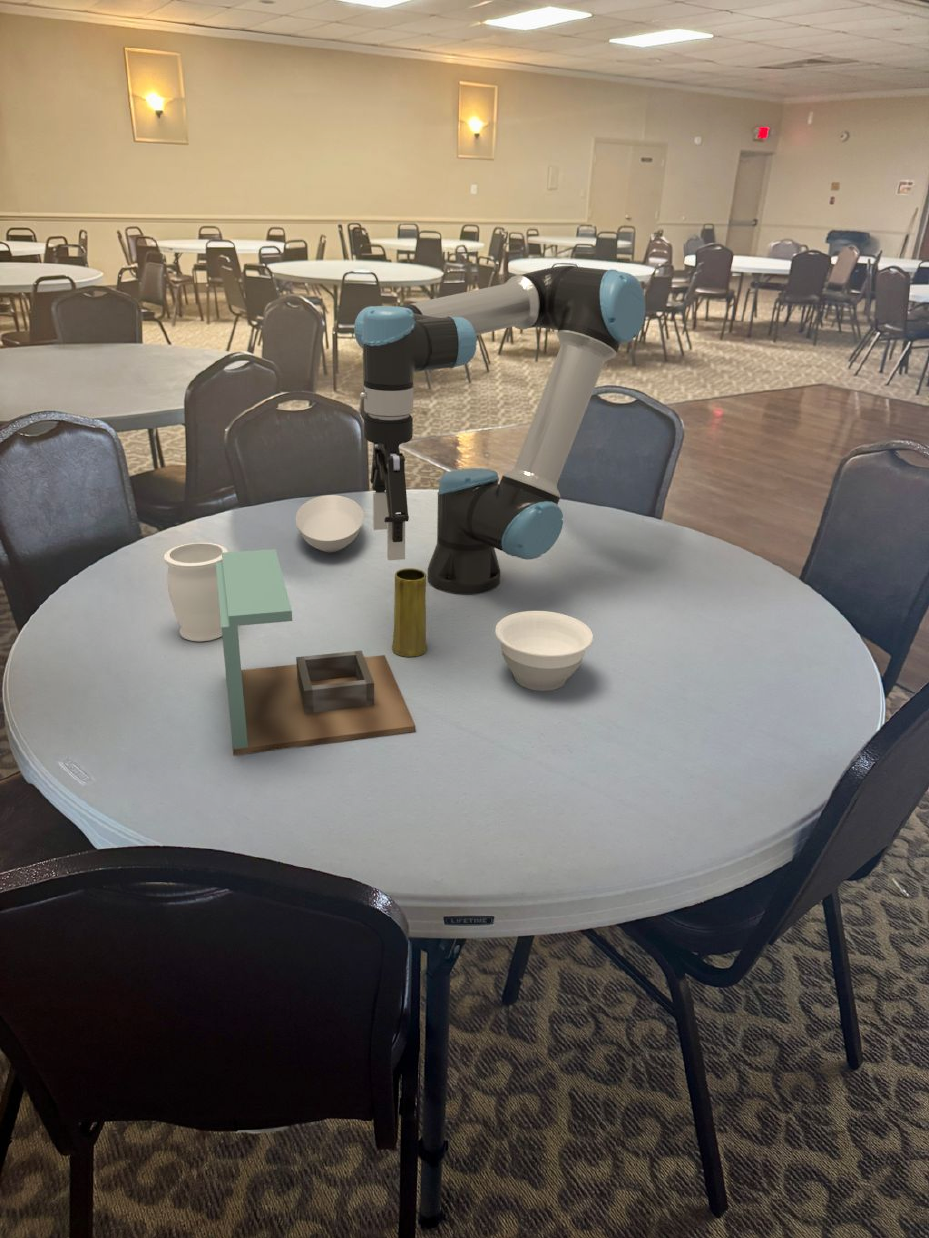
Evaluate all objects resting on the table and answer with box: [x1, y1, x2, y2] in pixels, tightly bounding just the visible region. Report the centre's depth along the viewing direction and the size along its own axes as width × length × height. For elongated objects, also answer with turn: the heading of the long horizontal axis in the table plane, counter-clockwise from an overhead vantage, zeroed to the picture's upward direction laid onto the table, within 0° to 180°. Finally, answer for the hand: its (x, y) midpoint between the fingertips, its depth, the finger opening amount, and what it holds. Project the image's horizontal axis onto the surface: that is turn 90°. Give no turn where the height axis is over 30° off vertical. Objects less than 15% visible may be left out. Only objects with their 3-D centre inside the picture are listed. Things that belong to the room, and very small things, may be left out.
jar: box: [163, 542, 229, 642], centre depth 146 cm, size 11×10×15 cm
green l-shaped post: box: [216, 548, 293, 750], centre depth 123 cm, size 9×22×20 cm, turn 17°
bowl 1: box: [295, 494, 365, 553], centre depth 190 cm, size 30×15×6 cm, turn 6°
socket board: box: [232, 650, 416, 756], centre depth 129 cm, size 26×22×5 cm
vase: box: [391, 567, 428, 658], centre depth 144 cm, size 6×6×14 cm
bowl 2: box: [494, 610, 594, 692], centre depth 138 cm, size 16×16×8 cm
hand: (388, 543), depth 139 cm, fingers open, 13 cm apart
